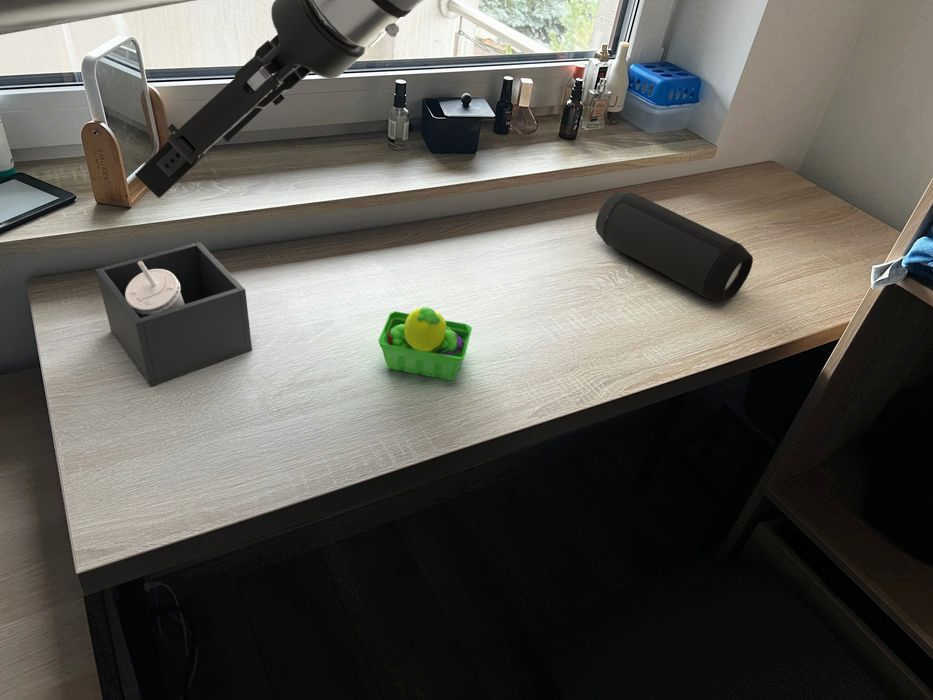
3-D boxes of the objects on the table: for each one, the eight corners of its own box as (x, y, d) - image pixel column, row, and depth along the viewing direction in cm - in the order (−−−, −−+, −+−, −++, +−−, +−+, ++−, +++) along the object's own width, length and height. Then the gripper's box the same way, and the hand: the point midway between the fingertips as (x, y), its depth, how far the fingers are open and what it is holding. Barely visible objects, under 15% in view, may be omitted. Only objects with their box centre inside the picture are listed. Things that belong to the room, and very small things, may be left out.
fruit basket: (469, 353, 101) (477, 285, 94) (459, 394, 94) (467, 325, 87) (389, 339, 101) (392, 271, 94) (373, 379, 95) (375, 309, 88)
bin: (150, 387, 89) (135, 323, 83) (111, 331, 97) (94, 269, 91) (252, 350, 97) (245, 289, 91) (208, 300, 104) (199, 241, 98)
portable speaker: (742, 294, 120) (763, 242, 114) (711, 315, 114) (732, 261, 108) (620, 231, 133) (633, 181, 127) (586, 246, 128) (598, 195, 122)
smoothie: (214, 327, 96) (175, 259, 84) (178, 361, 93) (134, 296, 82) (180, 306, 98) (138, 237, 86) (145, 338, 95) (96, 272, 84)
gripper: (314, 99, 50) (148, 247, 61) (405, 16, 70) (267, 139, 80) (234, 5, 47) (74, 177, 58) (352, -54, 67) (217, 83, 77)
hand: (186, 155), depth 69 cm, fingers open, 13 cm apart
